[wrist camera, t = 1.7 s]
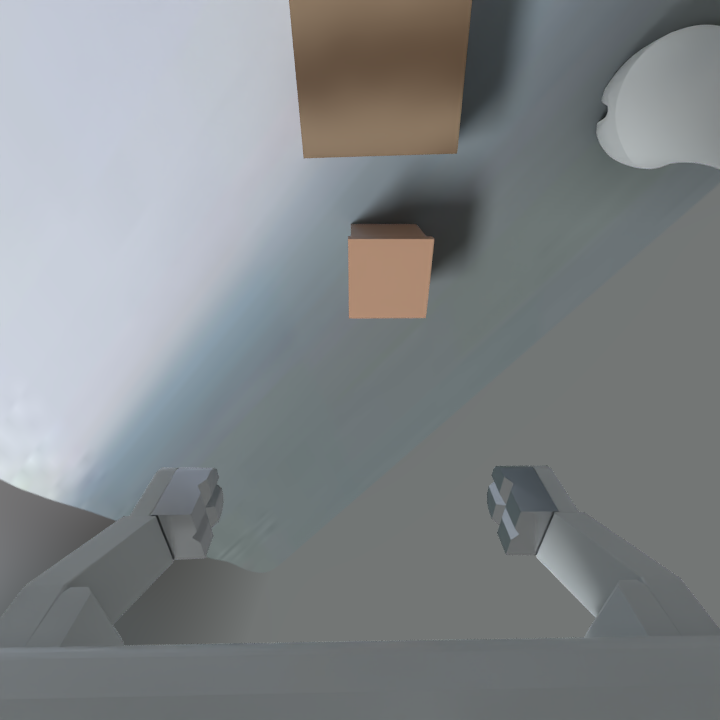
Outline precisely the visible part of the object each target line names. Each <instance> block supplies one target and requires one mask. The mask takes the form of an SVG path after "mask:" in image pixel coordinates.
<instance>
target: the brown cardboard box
mask: <svg viewBox="0 0 720 720" xmlns="http://www.w3.org/2000/svg"><path fill="white" fill-rule="evenodd" d="M433 247H434V238H433V237H432V236H426V235H425V234H424V233H423V232H422V230H421V229H420V228H419V227H418V226H417V224H351V236H348V260H349V318H426V311H427V302H428V293H429V284H430V275H431V266H432V256H433Z"/></svg>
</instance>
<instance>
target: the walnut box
mask: <svg viewBox="0 0 720 720" xmlns="http://www.w3.org/2000/svg"><path fill="white" fill-rule="evenodd" d="M289 5H290V16H291V27H292V37H293V48H294V59H295V70H296V80H297V91H298V102H299V113H300V123H301V134H302V145H303V156H304V158H324V157H357V156H390V155H423V154H456V153H457V148H458V138H459V128H460V118H461V108H462V98H463V87H464V77H465V67H466V57H467V47H468V37H469V26H470V16H471V6H472V0H289Z"/></svg>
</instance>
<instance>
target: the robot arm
mask: <svg viewBox="0 0 720 720" xmlns="http://www.w3.org/2000/svg"><path fill="white" fill-rule="evenodd" d="M492 477H493V480H494V482H493V483H492V484H491V485H490V486H489V488H488V492H487V504H488V509H489V512H490V515H491V518H492V519H493V520H494V521H495V522H496V523H497V524H498V525H500V526H499V529H498V532H497V533H498V536H499V538H500V541H501V544H502V546H503V549H504V551H505V554H506V555H537V556H536V557H537V558H538V559H539V560H540V561H541V562H542V563H543V564H544V566H546V567H547V569H548V570H549V571H550V572H551V573H552V574H553V575H554V576H556V578H557V579H558V580H559V581H560V582H561V583H562V584H563V585H564V586H565V587H566V588H567V589H568V590H569V591H570V592H571V593H572V594H573V595H574V596H575V597H576V598H577V599H578V600H579V601H580V602H581V603H582V604H583V605H584V606H585V607H586V608H587V609H588V610H589V611H590V612H591V613H592V614H593V615H594V616H595V617H596V618H595V620H594V621H593V623H592V625H591V626H590V628H589V629H588V631H587V633H586V635H585V637H583V638H528V639H527V638H526V639H467V640H406V641H349V642H292V643H234V644H181V645H180V644H178V645H125V646H124V643H123V640H122V638H121V637H120V635H119V633H118V632H117V630H116V629H115V627H114V626H113V624H114V623H115V622H116V621H117V620H118V619H119V618H120V617H121V616H122V614H124V613H125V612H126V610H128V609H129V608H130V607H131V606H132V604H133V603H134V602H135V601H136V600H137V599H138V598H139V597H140V596H141V595H142V594H143V593H144V592H145V591H146V590H147V589H148V588H149V587H150V586H151V585H152V584H153V583H154V582H155V580H157V578H158V577H159V576H160V575H161V574H162V573H163V572H164V571H165V570H166V569H167V568H168V567H169V566H170V565H171V564H172V563H173V562H174V560H176V559H198V558H199V559H201V558H206V555H207V552H208V550H209V547H210V544H211V542H212V539H213V532H212V527H213V526H214V525H215V524H217V523H218V522H219V519H220V516H221V513H222V508H223V502H224V501H223V491H222V488H221V487H220V486H219V485H217V481H218V479H219V475H218V472H217V469H215V468H161V469H160V470H158V471H157V472H156V474H155V475H154V477H153V479H152V480H151V482H150V483H149V485H148V487H147V488H146V490H145V492H144V493H143V495H142V496H141V498H140V500H139V501H138V503H137V504H136V506H135V508H134V509H133V511H132V513H131V514H130V516H123V517H122V518H121V519H119V520H118V521H116V522H115V523H114V524H112V525H111V526H109V527H108V528H106V529H105V530H104V531H102V532H101V533H99V534H98V535H96V536H95V537H94V538H92V539H91V540H89V541H88V542H86V543H85V544H84V545H82V546H81V547H79V548H78V549H76V550H75V551H74V552H72V553H71V554H69V555H68V556H66V557H65V558H64V559H62V560H61V561H59V562H58V563H57V564H55V565H54V566H53V567H51V568H49V569H48V570H46V571H45V572H44V573H42V574H41V575H39V576H38V577H37V578H35V579H34V580H32V581H31V582H29V583H28V584H27V585H25V586H24V587H23V589H22V590H21V591H20V593H19V594H18V595H17V596H16V598H15V599H14V600H13V602H12V603H11V604H10V606H9V607H8V608H7V610H6V611H5V612H4V614H3V615H2V616H1V617H0V720H720V629H719V627H718V626H717V625H716V623H715V622H714V621H713V620H712V618H711V617H710V616H709V614H708V613H707V612H706V611H705V609H704V608H703V607H702V605H701V604H700V603H699V601H698V600H697V599H696V598H695V596H694V595H693V594H692V592H691V591H690V590H689V589H688V587H687V586H686V585H685V583H684V582H683V581H682V580H681V578H680V577H678V576H677V575H675V574H674V573H672V572H671V571H670V570H668V569H667V568H665V567H664V566H662V565H661V564H659V563H658V562H656V561H655V560H653V559H652V558H650V557H649V556H648V555H646V554H645V553H643V552H642V551H640V550H639V549H637V548H636V547H634V546H633V545H632V544H630V543H629V542H627V541H626V540H625V539H623V538H622V537H620V536H619V535H617V534H616V533H614V532H613V531H611V530H610V529H609V528H607V527H606V526H604V525H603V524H601V523H600V522H598V521H597V520H595V519H594V518H593V517H591V516H589V515H588V514H587V513H585V512H579V511H578V509H577V508H576V506H575V504H574V503H573V501H572V500H571V498H570V497H569V495H568V494H567V492H566V491H565V489H564V487H563V486H562V484H561V483H560V481H559V480H558V478H557V477H556V475H555V474H554V472H553V470H552V469H551V468H550V467H549V466H547V465H542V466H496V467H495V468H494V469H493V473H492Z"/></svg>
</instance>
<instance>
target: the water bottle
mask: <svg viewBox="0 0 720 720" xmlns="http://www.w3.org/2000/svg"><path fill="white" fill-rule="evenodd" d="M602 102H603V103H604V104H605V105H607V106H608V112H607V115H606V117H605V118H604V119H602V120H601V121H599V122H598V123H597V130H596V135H597V138H598V140H599V143H600V145H601V147H602V148H603V149H604V151H605V152H606V153H607V154H608V155H609V156H610V157H611V158H613V159H614V160H616V161H618V162H620V163H622V164H625V165H628V166H631V167H635V168H643V169H654V168H659V167H662V166H665V165H668V164H670V163H679V162H691V163H699V164H703V165H708V166H712V167H715V168H718V169H720V26H716V25H695V26H691V27H686V28H683V29H680V30H677V31H674V32H671V33H669V34H667V35H665V36H663V37H661V38H660V39H658V40H656V41H654V42H652V43H651V44H649V45H647V46H646V47H644V48H643V49H641V50H640V51H638V52H637V53H636V54H634V55H633V56H632V57H631V58H630V59H629V60H627V61H626V62H625V64H624V65H623V66H622V67H621V68H620V69H619V70H618V71H617V72H616V74H615V75H614V76H613V77H612V79H611V80H610V82H609V83H608V85H607V86H606V88H605V90H604V93H603V97H602Z"/></svg>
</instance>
